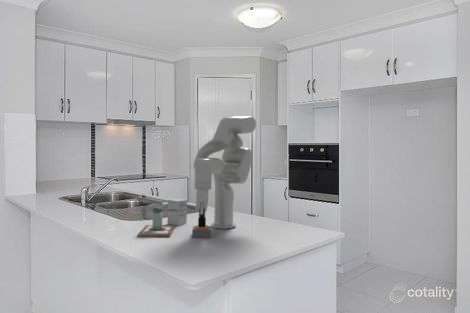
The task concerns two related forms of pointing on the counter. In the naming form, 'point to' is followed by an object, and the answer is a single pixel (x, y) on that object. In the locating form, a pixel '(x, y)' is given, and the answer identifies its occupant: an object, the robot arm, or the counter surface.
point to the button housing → (201, 232)
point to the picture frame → (156, 231)
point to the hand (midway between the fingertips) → (201, 226)
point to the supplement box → (177, 211)
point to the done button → (202, 227)
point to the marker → (157, 218)
